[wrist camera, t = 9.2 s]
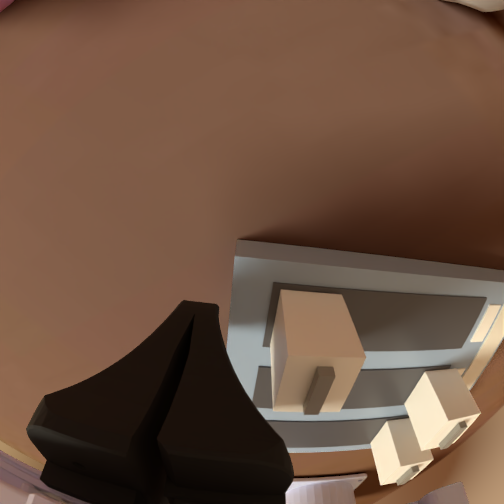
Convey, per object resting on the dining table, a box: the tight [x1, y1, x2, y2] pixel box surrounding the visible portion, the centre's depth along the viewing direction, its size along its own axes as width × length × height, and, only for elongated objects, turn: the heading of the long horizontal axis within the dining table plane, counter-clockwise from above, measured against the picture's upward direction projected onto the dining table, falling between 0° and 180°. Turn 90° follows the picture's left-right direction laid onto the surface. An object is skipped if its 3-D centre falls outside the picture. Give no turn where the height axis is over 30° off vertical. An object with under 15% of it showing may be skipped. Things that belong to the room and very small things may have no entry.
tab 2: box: [370, 418, 433, 486], centre depth 15 cm, size 3×2×4 cm
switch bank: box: [227, 239, 504, 453], centre depth 15 cm, size 14×16×2 cm
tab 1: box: [270, 289, 366, 415], centre depth 10 cm, size 3×2×4 cm
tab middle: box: [404, 368, 481, 451], centre depth 13 cm, size 3×2×4 cm
